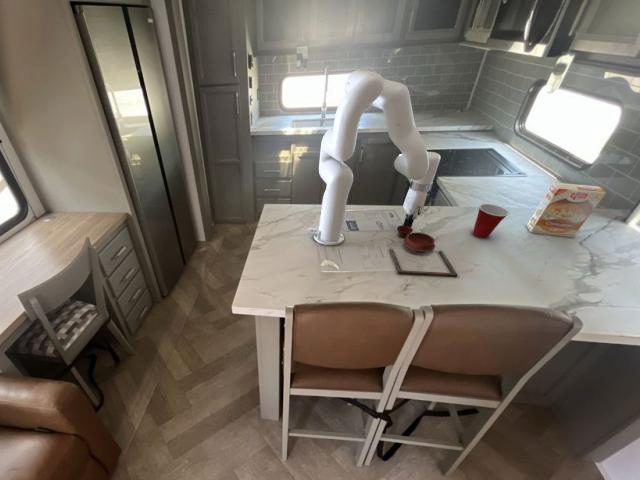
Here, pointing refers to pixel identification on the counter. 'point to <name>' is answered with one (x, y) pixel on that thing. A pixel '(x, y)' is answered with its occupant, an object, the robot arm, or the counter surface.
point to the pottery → (416, 239)
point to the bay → (452, 274)
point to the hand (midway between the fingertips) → (407, 226)
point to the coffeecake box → (565, 209)
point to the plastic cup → (488, 219)
